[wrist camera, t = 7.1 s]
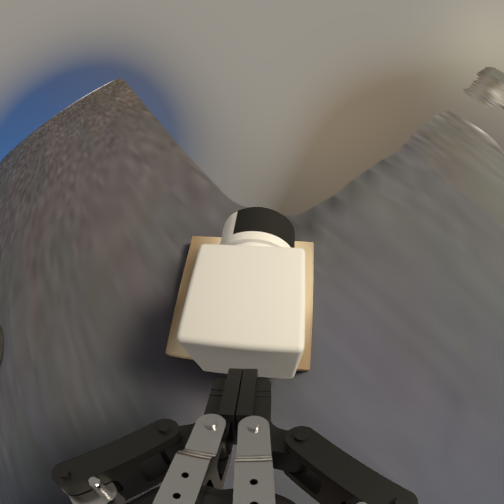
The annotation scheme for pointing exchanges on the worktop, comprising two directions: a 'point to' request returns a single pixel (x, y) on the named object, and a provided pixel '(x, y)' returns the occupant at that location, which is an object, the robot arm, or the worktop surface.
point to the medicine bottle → (247, 298)
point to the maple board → (173, 344)
